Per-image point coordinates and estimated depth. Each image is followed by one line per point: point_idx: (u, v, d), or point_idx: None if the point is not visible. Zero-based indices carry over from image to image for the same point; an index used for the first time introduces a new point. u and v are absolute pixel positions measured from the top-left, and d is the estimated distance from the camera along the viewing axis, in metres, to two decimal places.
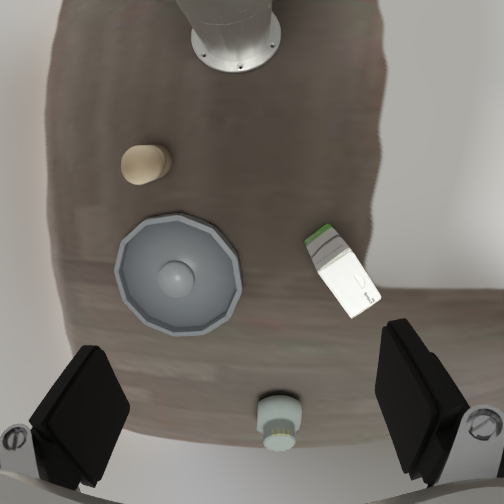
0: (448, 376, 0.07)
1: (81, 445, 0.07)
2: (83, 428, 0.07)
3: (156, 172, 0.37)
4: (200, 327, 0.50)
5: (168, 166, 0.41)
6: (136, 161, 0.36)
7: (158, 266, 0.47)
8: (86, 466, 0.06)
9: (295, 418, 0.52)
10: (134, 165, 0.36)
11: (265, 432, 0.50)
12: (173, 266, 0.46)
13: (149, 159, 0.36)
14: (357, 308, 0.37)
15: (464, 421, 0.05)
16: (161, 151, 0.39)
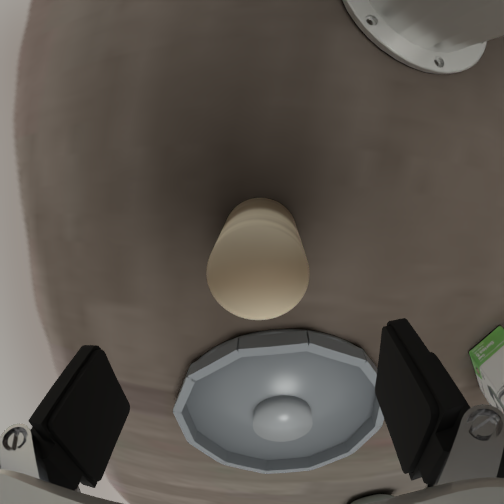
0: (448, 376, 0.07)
1: (81, 445, 0.07)
2: (83, 428, 0.07)
3: None
4: (304, 459, 0.30)
5: None
6: (253, 266, 0.15)
7: (251, 402, 0.27)
8: (86, 466, 0.06)
9: None
10: (245, 277, 0.15)
11: None
12: (284, 410, 0.25)
13: (290, 265, 0.15)
14: None
15: (464, 421, 0.05)
16: (294, 227, 0.18)
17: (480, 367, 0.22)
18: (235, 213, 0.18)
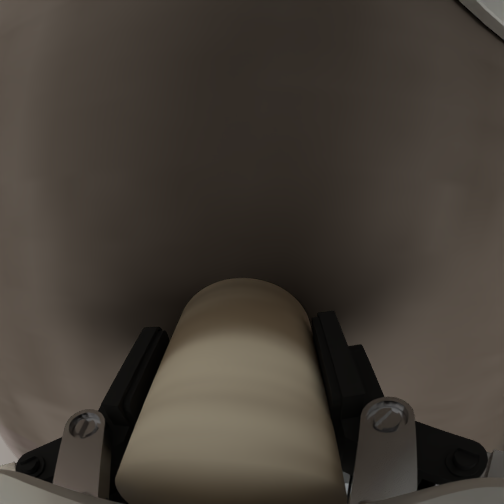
0: (370, 368, 0.08)
1: None
2: None
3: None
4: None
5: None
6: (217, 503, 0.05)
7: None
8: None
9: None
10: None
11: None
12: None
13: (304, 502, 0.05)
14: None
15: (365, 410, 0.06)
16: (314, 368, 0.08)
17: None
18: (186, 331, 0.08)
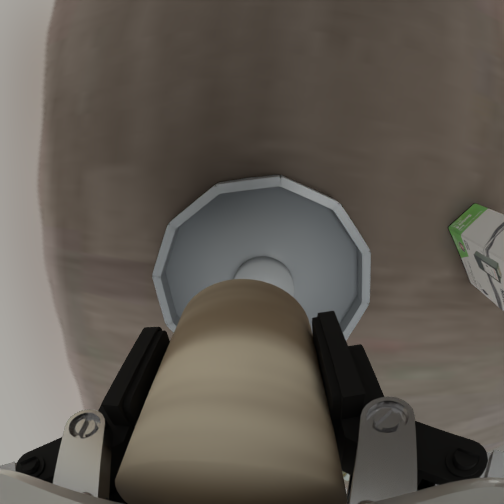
0: (370, 368, 0.08)
1: None
2: None
3: None
4: None
5: None
6: None
7: (231, 267, 0.29)
8: None
9: None
10: None
11: None
12: (263, 266, 0.27)
13: (304, 503, 0.05)
14: None
15: (365, 410, 0.06)
16: (314, 370, 0.08)
17: (461, 235, 0.25)
18: (186, 332, 0.08)
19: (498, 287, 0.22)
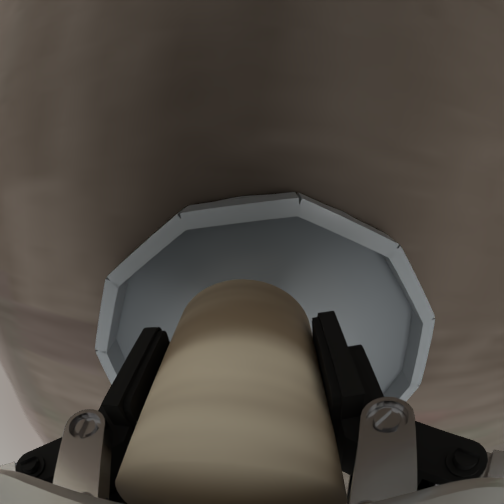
0: (370, 367, 0.08)
1: None
2: None
3: None
4: None
5: None
6: None
7: None
8: None
9: None
10: None
11: None
12: None
13: None
14: None
15: (365, 410, 0.06)
16: (314, 370, 0.08)
17: None
18: (186, 333, 0.08)
19: None
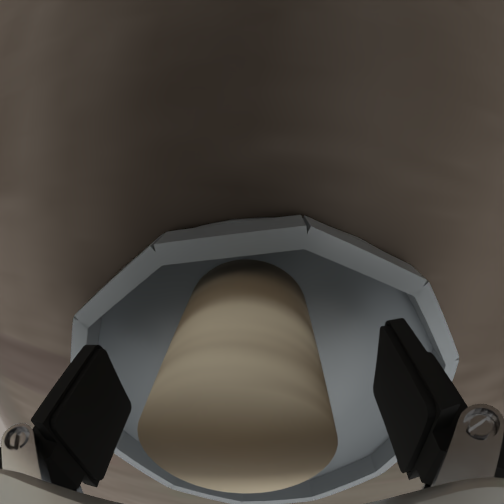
0: (445, 375, 0.07)
1: (83, 444, 0.07)
2: (85, 427, 0.07)
3: None
4: (303, 484, 0.18)
5: None
6: (226, 442, 0.06)
7: None
8: (88, 465, 0.06)
9: None
10: (213, 454, 0.07)
11: None
12: None
13: (300, 441, 0.06)
14: None
15: (461, 420, 0.05)
16: (308, 331, 0.09)
17: None
18: (199, 301, 0.10)
19: None
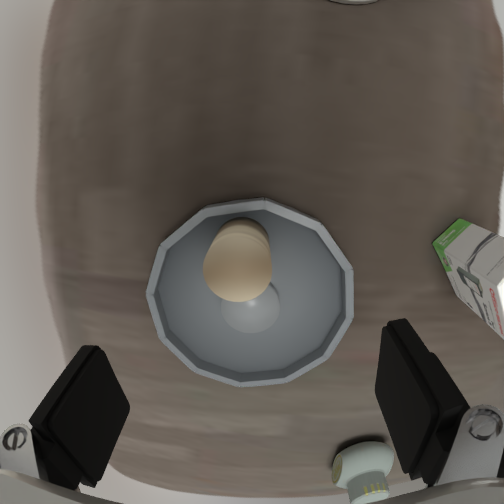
0: (448, 376, 0.07)
1: (81, 445, 0.07)
2: (83, 428, 0.07)
3: None
4: (279, 371, 0.33)
5: None
6: (234, 264, 0.22)
7: None
8: (86, 466, 0.06)
9: (387, 467, 0.34)
10: (229, 271, 0.23)
11: (354, 490, 0.32)
12: None
13: (258, 263, 0.22)
14: None
15: (464, 421, 0.05)
16: (264, 238, 0.25)
17: (444, 251, 0.27)
18: (222, 228, 0.26)
19: (480, 301, 0.23)
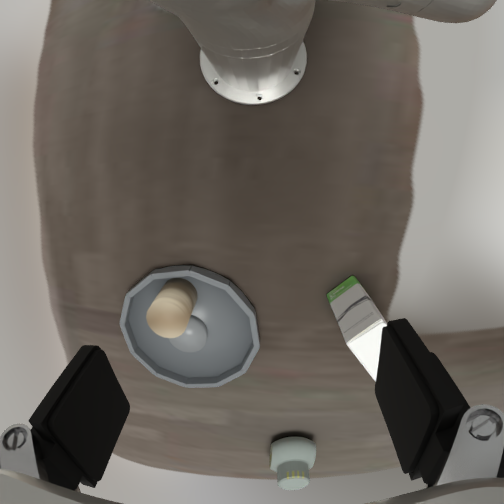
0: (448, 376, 0.07)
1: (81, 445, 0.07)
2: (83, 428, 0.07)
3: None
4: (214, 378, 0.46)
5: (194, 305, 0.41)
6: (163, 316, 0.35)
7: None
8: (86, 466, 0.06)
9: (309, 459, 0.48)
10: (161, 321, 0.35)
11: (279, 474, 0.45)
12: None
13: (178, 317, 0.35)
14: None
15: (464, 421, 0.05)
16: (187, 296, 0.38)
17: (330, 304, 0.39)
18: (162, 288, 0.39)
19: None
